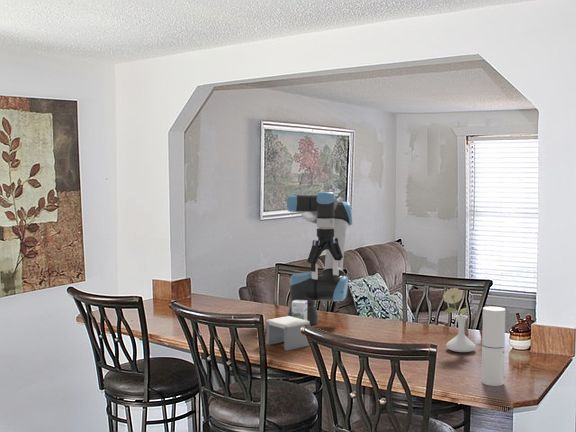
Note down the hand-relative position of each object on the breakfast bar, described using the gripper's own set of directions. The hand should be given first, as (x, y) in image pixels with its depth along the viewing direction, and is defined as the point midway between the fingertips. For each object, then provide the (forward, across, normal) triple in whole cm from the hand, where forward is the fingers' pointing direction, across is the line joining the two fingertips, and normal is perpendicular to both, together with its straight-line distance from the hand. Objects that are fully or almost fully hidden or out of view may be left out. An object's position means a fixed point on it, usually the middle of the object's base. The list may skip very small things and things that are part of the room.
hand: (325, 277), depth 286 cm
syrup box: (+25, -8, +8) cm, 28 cm away
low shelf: (+25, -24, -1) cm, 35 cm away
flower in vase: (+25, +18, -55) cm, 63 cm away
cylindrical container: (+24, -10, -84) cm, 88 cm away
